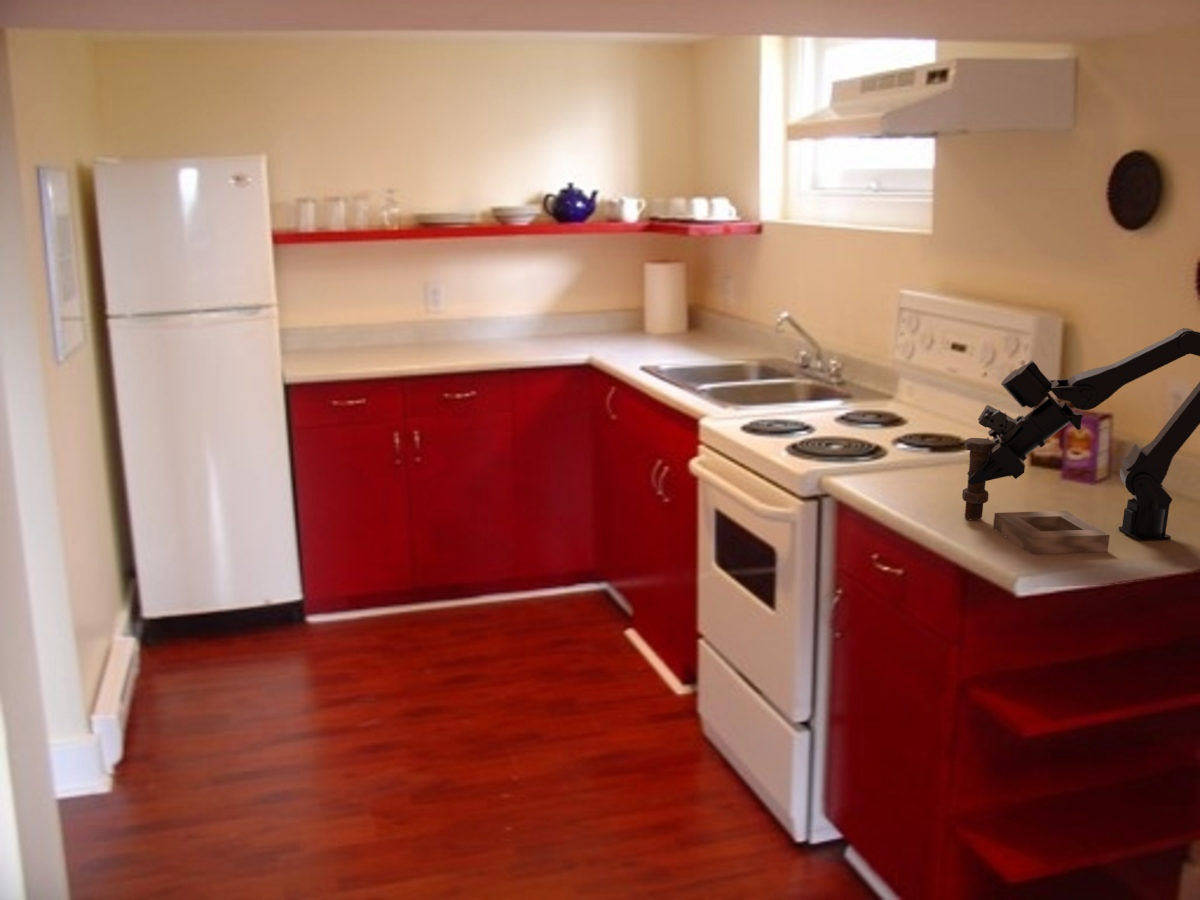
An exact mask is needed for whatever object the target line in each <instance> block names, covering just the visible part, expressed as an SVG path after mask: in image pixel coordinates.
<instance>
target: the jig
mask: <svg viewBox="0 0 1200 900" xmlns="http://www.w3.org/2000/svg"><path fill="white" fill-rule="evenodd" d="M992 528H993V530H995V531H996V530H997V531H996V532H998V533H999V532H1000V533H999V534H1001V535H1002V534H1003V535H1002V536H1003V537H1005V536H1006V537H1005V538H1007V539H1008V540H1010V541H1011V540H1012V543H1014V542H1015V543H1014V544H1016V545H1017V544H1018V545H1017V546H1019V547H1020V546H1021V548H1022V549H1023V550H1024V551H1026V550H1027V552H1028V553H1029V554H1031V555H1045V554H1048V555H1049V554H1071V553H1076V554H1077V553H1098V552H1099V553H1100V552H1101V553H1102V552H1105V553H1106V552H1107V553H1108V550H1109V544H1110V537H1111V536H1110V534H1109V533H1107V532H1105V531H1104V530H1102V529H1100V528H1098V527H1096V526H1094V524H1091V523H1089V522H1088V521H1086V520H1083V519H1082V518H1080V517H1078V516H1077V515H1075V514H1073V513H1071V512H1069V511H1068V510H1051V511H1050V510H1049V511H1047V510H1044V511H1013V512H994V517H993V527H992ZM1043 553H1044V554H1043Z"/></svg>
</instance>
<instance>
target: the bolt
mask: <svg viewBox="0 0 1200 900" xmlns="http://www.w3.org/2000/svg"><path fill="white" fill-rule="evenodd" d="M989 439H990V438H989ZM989 439H987V438H984V437H983V438H982V437H981V438H980V437H970V438H967V439H965V440H964V447H965V449H966V450H967V451H969V462H968V463H969V464H968V472H969V474H967V480H968V479H969V478H970V477H971V476H972V475H973V474H974V473H975V472H976V471H977V470H978V469H979V467H980V466H981V465H982V464H983V463H984V462H985V461H986V460H987V458H988V450H989V448H990V449H991V450H992V449H993V448H994V447H995V446H996V444H995V441H992V439H990V440H989ZM968 475H969V476H968ZM986 482H987V481H985V482H981V483H977V484H973V485H971V484H970V483H969V482H968V481H967V487H966V488H963V489H962V492H961V493H962V496H961V497H962V500H963V501H964V502H965V506H964V518H965V519H966V518H967V519H966V520H968V519H971V520H970V521H980V520H981V519H983V513H984V512H983V511H984V504H987V502H988V501H989V492H988V490H986Z"/></svg>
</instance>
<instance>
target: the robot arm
mask: <svg viewBox="0 0 1200 900" xmlns="http://www.w3.org/2000/svg"><path fill="white" fill-rule="evenodd" d="M1187 355H1193V356H1197V357H1200V331H1196V330H1194V329H1192V328H1188V327H1184V328H1180V329H1178V330H1177V331H1175V332H1174V333H1172V334H1171V335H1169V336H1166V337H1165V338H1163V339H1161V340H1158V341H1157V342H1154V343H1153V344H1151V345H1149V346H1146V347H1144V348H1143V349H1140V350H1138V351H1136V352H1134V353H1132V354H1130V355H1128V356H1125V357H1124V358H1122V359H1120V360H1118V361H1116V362H1114V363H1111V364H1108V365H1105V366H1104V365H1103V366H1101V367H1095V368H1092V369H1088V370H1084V371H1082V372H1078V373H1075V374H1074V375H1072V376H1071V377H1070V376H1069V378H1066V379H1065V378H1064V379H1063V378H1061V379H1050V380H1049V378H1048V377H1047V376H1046V375H1045V374H1044V373H1043V372H1042V371H1041V369H1040V368H1039V366H1038V365H1037V363H1036V362H1035V361H1034V360H1030V361H1028V362H1027V363H1025V364H1024V365H1022V366H1020V367H1019V368H1016V369H1013V371H1012V372H1010V373H1009V374H1008V375H1007V376H1006V377H1004V378H1003V380H1002V382H1001V386H1002V387H1003V388H1004V389H1005V390H1006V392H1007V393H1008V394H1010V396H1011V397H1012V398H1013V399H1014V400H1015V402H1016V403H1017V404H1018V405H1019V406H1020V407H1021V408H1025V407H1028V408H1030V409H1032V408H1033V409H1032V410H1031V411H1030V412H1029V413H1027V414H1026V415H1023V414H1022V415H1018V416H1017V417H1015V418H1013V417H1011V416H1009V415H1008V414H1007V413H1006V412H1002V411H1001V409H997V408H994V407H993V406H991V405H988V404H986V405H985V406H984V409H983V410H982V412H981V414H980V415H979V417H978V418H977V420H978V424H979V425H981V426H982V427H984V428H988V429H990V430H988V436H989V437H991V438H992V439H990V438H989V437H986V439H989V440H992V441H995V444H996V446H995V447H994V448H993V449H992V450H991V449H990V448H989V450H988V458H987V460H986V461H985V462H984V463H983V464H982V465H981V466H980V467H979V469H978V470H977V471H976V472H975V473H974V474H973V475H972V476H971V477H970V478H969V477H968V476H969V475H968V474H969V471H968V472H967V477H968V478H969V479H968V478H967V483H968V482H969V483H970V484H971V485H973V484H977V483H981V482H988V481H993V480H996V479H1001V478H1007V477H1013V478H1014V479H1015V480H1017V479H1018V478H1019V477H1021V476H1022V475H1024V473H1025V470H1026V469H1025V468H1026V465H1025V460H1027V459H1028V458H1027V456H1028V455H1029V454H1030V453H1032V452H1033V451H1035V449H1037V448H1038V447H1040V448H1043V447H1044V446H1045V445H1046V441H1048V440H1049V439H1050V438H1052V437H1053V436H1054V435H1055V434H1057V433H1058V432H1059V431H1060V430H1062V429H1063V428H1065V427H1066V426H1068V425H1069V424H1071V425H1072V426H1073V427H1074V428H1075V429H1076V430H1077V431H1080V430H1081V429H1082V421H1083V417H1084V414H1083V413H1082V412H1075V411H1074V410H1073V409H1072V408H1071V407H1070V405H1069V404H1068V403H1067V402H1069V403H1070V404H1071V405H1072V407H1074V408H1076V409H1077V410H1081V411H1089V410H1093V409H1095V408H1097V407H1098V406H1100V405H1101V404H1102V403H1104V402H1105V401H1107V400H1108V399H1109V398H1110V397H1112V396H1113V395H1114V394H1116V392H1118V390H1119V389H1121V388H1122V387H1123V386H1125V385H1127V384H1129V383H1131V382H1134V381H1136V380H1137V379H1139V378H1141V377H1144V376H1146V375H1147V374H1149V373H1152V372H1154V371H1156V370H1159V369H1160V368H1162V367H1164V366H1167V365H1168V364H1170V363H1172V362H1175V361H1177V360H1179V359H1181V358H1182V357H1183V358H1184V356H1187ZM1050 392H1052V394H1054V396H1055V398H1057V399H1058V400H1062V401H1060V402H1058V400H1056V399H1055V398H1054V396H1052V394H1051V393H1050ZM1046 398H1047V399H1046ZM1045 399H1046V400H1045ZM1199 426H1200V381H1199V382H1198V383H1197V384H1196V386H1195V387H1194V388H1193V389H1192V391H1191V392H1190V393H1189V394H1188V395H1187V397H1186V398H1185V399H1184V401H1183V402H1182V403H1181V404H1180V405H1179V407H1178V408H1177V409H1176V411H1175V412H1174V413H1173V414H1172V416H1171V417H1170V418H1169V420H1168V421H1167V422H1166V423H1165V425H1163V427H1162V428H1161V430H1160V431H1159V432H1158V434H1156V436H1155V437H1154V439H1152V441H1151V442H1149V443H1147V444H1146V445H1145V446H1143V447H1142V448H1141V447H1140V446H1139V445H1138V444H1137V443H1136V444H1134V445H1133V447H1132V448H1131V450H1130V452H1129V453H1128V455H1127V456H1126V457H1125V458H1123V459H1121V460H1120V462H1121V463H1122V464H1121V465H1122V466H1121V467H1120V470H1119V474H1120V479H1121V481H1122V483H1123V484H1124V486H1125V488H1126V490H1127V491H1128V492H1129V494H1131V495H1132V496H1133V497H1131V499H1127V503H1126V507H1124V512H1123V518H1122V525H1121V526H1118V530H1119V531H1121V532H1122V533H1124V534H1127V535H1128V536H1130V537H1132V538H1134V539H1136V540H1139V541H1147V540H1149V541H1151V540H1171V538H1172V535H1169V534H1168V533H1167V525H1168V520H1169V512H1170V505H1171V503H1172V501H1173V498H1172V496H1171V495H1170V494H1169V492H1168V491H1167V490H1166V487H1164V485H1163V482H1164V480H1165V478H1166V476H1167V475H1168V472H1169V469H1170V467H1171V463H1172V461H1173V458H1174V457H1175V455H1176V454H1177V453H1178V452H1179V451H1180V449H1181V448H1182V447H1183V446H1184V444H1185V443H1186V442H1187V440H1188V439H1189V438H1190V437H1191V435H1193V434H1194V432H1195V431H1196V429H1197V428H1198V427H1199Z"/></svg>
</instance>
